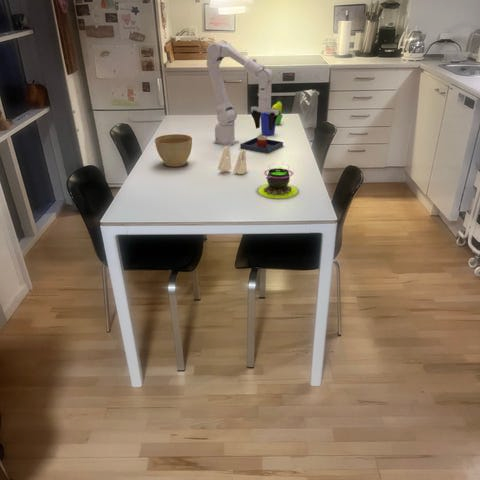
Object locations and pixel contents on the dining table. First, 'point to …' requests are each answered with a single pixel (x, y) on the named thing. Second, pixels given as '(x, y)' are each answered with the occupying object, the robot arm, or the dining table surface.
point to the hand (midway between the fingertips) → (264, 129)
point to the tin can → (262, 141)
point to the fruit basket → (279, 107)
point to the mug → (266, 125)
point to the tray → (252, 146)
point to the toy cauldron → (278, 184)
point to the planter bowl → (174, 148)
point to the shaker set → (226, 162)
